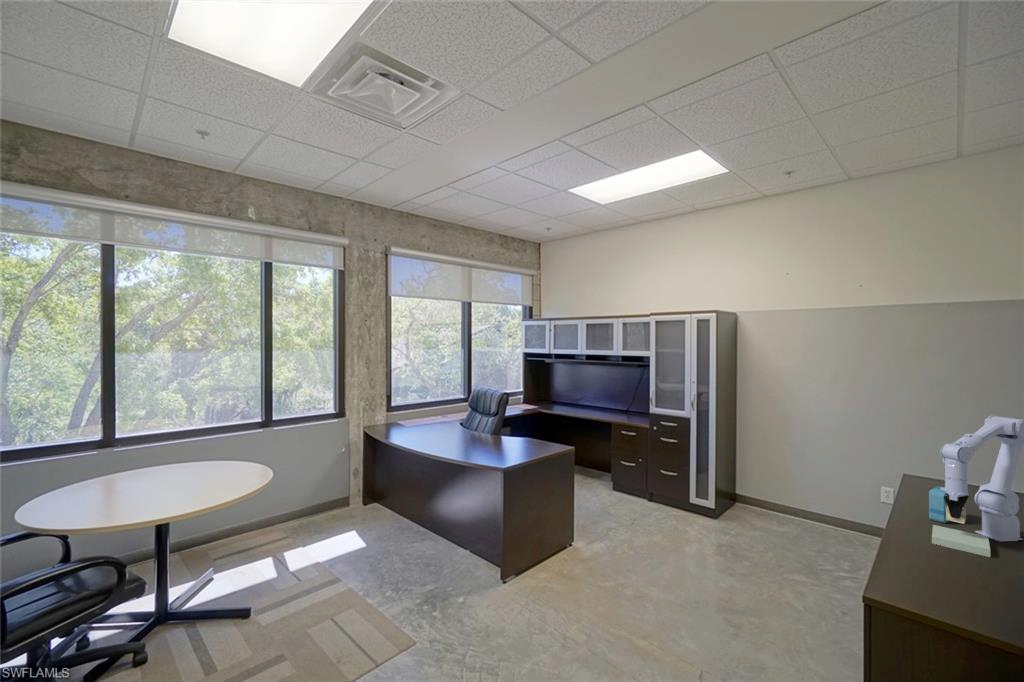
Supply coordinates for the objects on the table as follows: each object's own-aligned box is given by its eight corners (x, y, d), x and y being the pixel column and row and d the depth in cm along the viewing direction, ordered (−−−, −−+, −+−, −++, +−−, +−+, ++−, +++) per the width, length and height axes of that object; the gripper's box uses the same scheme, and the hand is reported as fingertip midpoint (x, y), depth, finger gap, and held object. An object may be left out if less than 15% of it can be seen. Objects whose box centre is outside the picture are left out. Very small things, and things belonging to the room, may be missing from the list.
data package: (944, 524, 170) (944, 493, 170) (929, 520, 174) (928, 490, 174) (954, 517, 176) (954, 488, 176) (939, 514, 180) (939, 485, 180)
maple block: (948, 516, 159) (948, 504, 159) (965, 520, 156) (965, 508, 156) (946, 519, 156) (946, 507, 156) (964, 523, 153) (964, 511, 153)
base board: (933, 531, 164) (933, 524, 164) (988, 543, 154) (988, 536, 154) (931, 543, 154) (931, 536, 154) (990, 557, 144) (990, 549, 144)
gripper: (943, 471, 164) (943, 507, 164) (937, 479, 155) (937, 517, 154) (970, 476, 158) (971, 513, 158) (965, 484, 149) (966, 524, 149)
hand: (956, 516), depth 156 cm, fingers closed on maple block, 4 cm apart
